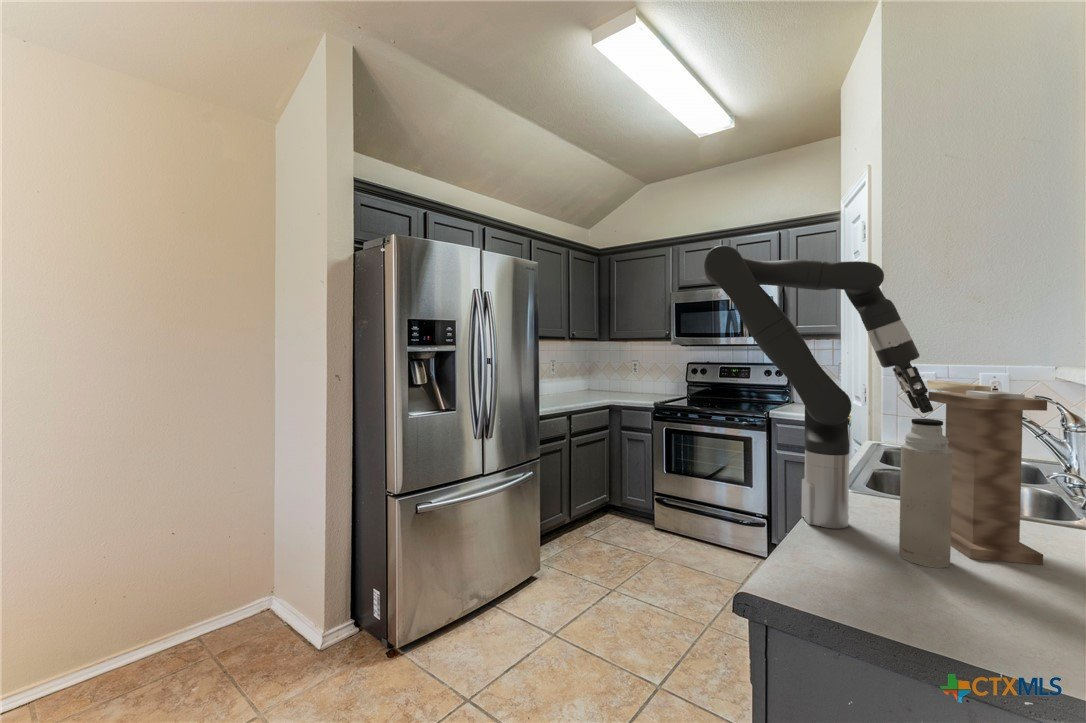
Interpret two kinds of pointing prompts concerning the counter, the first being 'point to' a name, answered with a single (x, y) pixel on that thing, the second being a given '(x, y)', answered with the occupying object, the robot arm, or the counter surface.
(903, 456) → the thermos bottle
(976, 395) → the paddle
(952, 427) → the stand
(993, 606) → the counter surface
